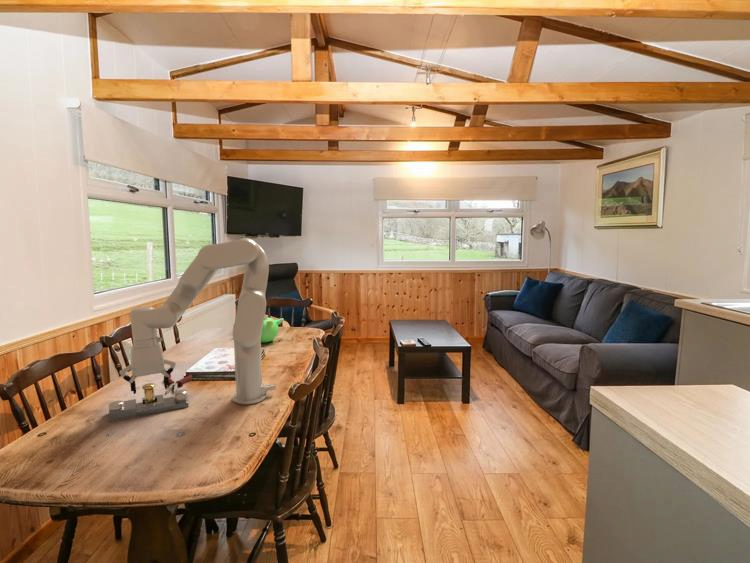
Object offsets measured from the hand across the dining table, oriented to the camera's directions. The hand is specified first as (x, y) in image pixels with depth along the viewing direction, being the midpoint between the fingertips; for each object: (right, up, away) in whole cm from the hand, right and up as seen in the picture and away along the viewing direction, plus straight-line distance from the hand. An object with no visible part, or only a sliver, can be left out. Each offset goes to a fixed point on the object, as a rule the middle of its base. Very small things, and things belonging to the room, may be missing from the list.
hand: (150, 389), depth 147 cm
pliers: (-4, -5, +25) cm, 26 cm away
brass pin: (0, -7, +1) cm, 7 cm away
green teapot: (+17, +4, +88) cm, 89 cm away
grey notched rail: (0, -7, +1) cm, 7 cm away
